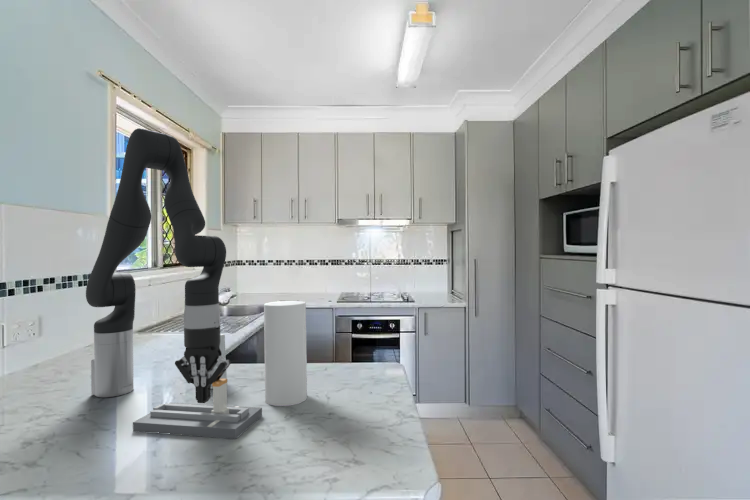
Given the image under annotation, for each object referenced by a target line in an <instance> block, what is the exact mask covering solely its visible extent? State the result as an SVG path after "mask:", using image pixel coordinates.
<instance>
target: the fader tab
mask: <svg viewBox="0 0 750 500" xmlns="http://www.w3.org/2000/svg"><path fill="white" fill-rule="evenodd" d="M212 386H213V389H212V401H213V402H212V405H213V410H212V411H211V413H219V414H229V408H226V407H227V406H228V378H227V379H219V380H217V381H215V382H214V383H212Z"/></svg>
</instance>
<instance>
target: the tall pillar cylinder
mask: <svg viewBox="0 0 750 500" xmlns="http://www.w3.org/2000/svg"><path fill="white" fill-rule="evenodd" d="M306 303H307V302H306V301H304V300H303V301H302V300H279V301H269V302H265V303H264V304H263V325H264V327H263V328H264V330H263V333H264V334H263V335H264V338H263V339H264V399H265V403H266V404H267V405H270V406H273V407H288V406H289V407H290V406H294V405H298V404H301V403H303V402H305V401H306V400H307V399H308V377H307V376H308V374H307V373H308V371H307V369H308V368H307V367H308V366H307V365H308V364H307V304H306Z"/></svg>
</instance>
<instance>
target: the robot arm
mask: <svg viewBox="0 0 750 500" xmlns="http://www.w3.org/2000/svg"><path fill="white" fill-rule="evenodd" d="M145 169H152V170H157V171H164V172H165V173H166V175H167V176H168V178H169V181H170V182H169V184H168V187H167V189H166V191H165V192H166V193H165V195H164V209H165V212H166V215H167V217H168V219H169V221H170V224H171V226H172V229H173V239H174V253H175V254H174V255H175V258H176V260H177V261H178V262H179V264H180V265H182V266H184V267H186V268H200V267H201V268H202V269H201V272H200V275H197V276H195V277H192V278H189V279H187V280H186V281H185V284H184V312H183V313H184V314H183V343H184V344H183V345H184V347H185V351H184V352H183V356H182V357H181V358H180V359H178V360H175V361H174V365H175V366H176V368H177V370H178V371H179V373H180V374H181V375H182V377H183V378H184V379H185V381H186V383H187V384H192V385H193V386H194V387H195V388H194V389H195V400H196V402H197V404H205V403H207V402H209V400H210V399H211V397H212V390H211V384H212V383H214V382H215V381H217V380H219V379H220V378H221V376H222V375H223V374H224V372H225V371H226V372H227V370H228V368H229V366H231V363H232V361H231V360H230V359H227V358H226V359H224V358H223V357H222V356H221V355H222V353H221V350H220V342H221V340H220V333H221V310H220V303H219V302H220V296H219V295H220V294H219V293H220V292H219V289H220V288H219V287H220V286H219V285H220V282H221V278H222V274H223V269H224V266H225V262H226V258H227V247H226V245H225V242H224V241H223V239H222V238H221V237H219V236H216V235H198V234H200V233H201V232H202V231H204V229H205V227H206V220H205V217H204V215H203V213H202V210H201V208H200V206H199V204H198V202H197V199H196V198H195V195H194V192H193V190H192V186H191V183H190V178H189V177H190V176H189V173H188V170H187V165H186V161H185V156H184V153H183V149H182V147H181V145H180V142H179V141H178V140H177V138H175V136H172V135H170V134H167V133H163V132H159V131H156V130H155V131H154V130H151V129H146V128H141V127H140V128H135V129H134V130H133V131H132V132H131V133H130V136H129V137H128V141H127V145H126V147H125V154H124V158H123V163H122V168H121V174H120V175H121V176H120V180H119V184H118V188H117V192H116V195H115V199H114V201H113V205H112V207H111V211H110V214H109V217H108V220H107V224H106V229H105V232H104V235H103V241H102V243H101V246H100V249H99V253H98V256H97V258H96V261H95V262H94V265H93V268H92V269H91V272H90V275H89V277H88V281H87V283H86V288H85V298H86V299H85V300H86V303H87V304H89V306H91V307H94V308H108V307H113V310H112V312H110V313H108V315H106V316H105V317H102V318H99V319H97V320H96V321H95V322H94V324H93V350H94V351H93V353H94V355H93V358H92V359H91V361H90V374H91V375H90V377H91V378H90V379H91V381H90V383H91V384H90V386H91V391H90V393H91V395H93V396H94V397H96V398H112V397H118V396H123V395H126V394H128V393H130V392H133V391H134V389H135V387H134V320H135V310H136V291H137V289H136V283H135V279H134V277H133V275H132V274H130V273H129V272H116V270H117V268H118V266H120V264H121V263H122V262H124V260H125V259H126V258H127V257H129V255H131V254H132V253H134V252H135V250H137V249H138V248H139V247H140V246H141V245H142V244H143V242H144V241H145V239H146V237H147V233H148V231H149V228H150V224H151V223H152V222H151V221H152V212H151V209H150V206H149V203H148V200H147V199H146V196H145V193H144V191H143V190H144V189H143V186H142V184H143V183H142V180H143V175H144V171H145ZM217 362H218V363H217ZM216 363H217V367H218V368H217V369H216V370H215V372H214V366H215V365H216ZM213 372H214V373H213ZM212 374H213V375H212Z"/></svg>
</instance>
